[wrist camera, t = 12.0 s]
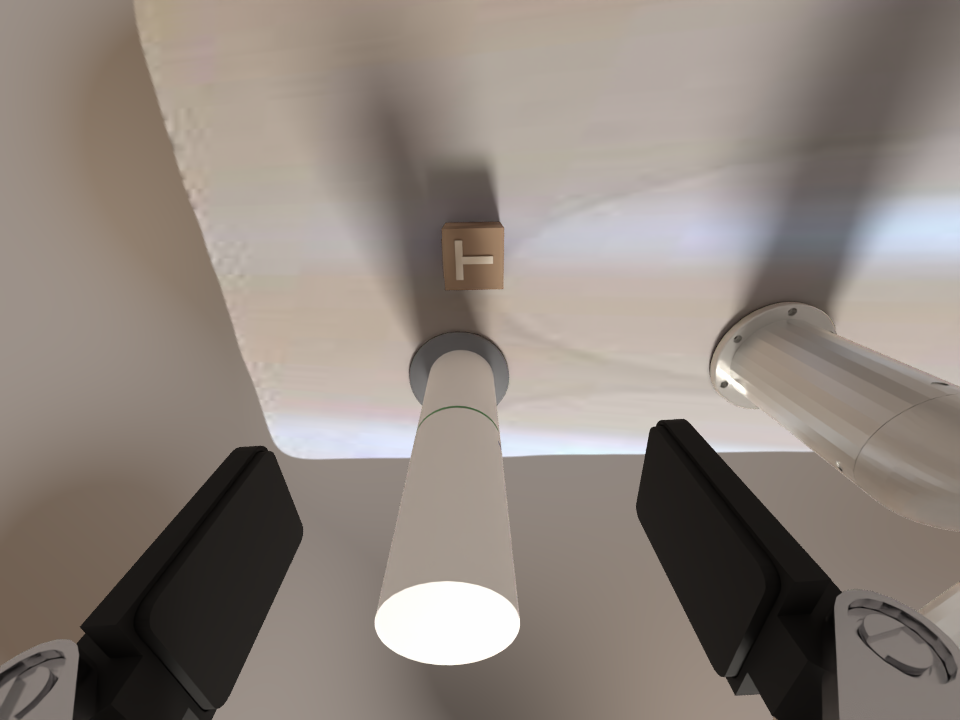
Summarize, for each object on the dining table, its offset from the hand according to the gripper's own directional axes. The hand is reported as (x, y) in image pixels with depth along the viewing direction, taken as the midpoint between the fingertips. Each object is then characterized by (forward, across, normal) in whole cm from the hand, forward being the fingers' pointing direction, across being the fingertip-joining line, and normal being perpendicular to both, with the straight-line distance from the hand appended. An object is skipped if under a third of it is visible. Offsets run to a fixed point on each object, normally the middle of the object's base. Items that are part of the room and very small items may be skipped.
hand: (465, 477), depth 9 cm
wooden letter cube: (+29, -1, -1) cm, 29 cm away
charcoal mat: (+29, +2, +13) cm, 32 cm away
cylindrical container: (+29, +2, +13) cm, 31 cm away
